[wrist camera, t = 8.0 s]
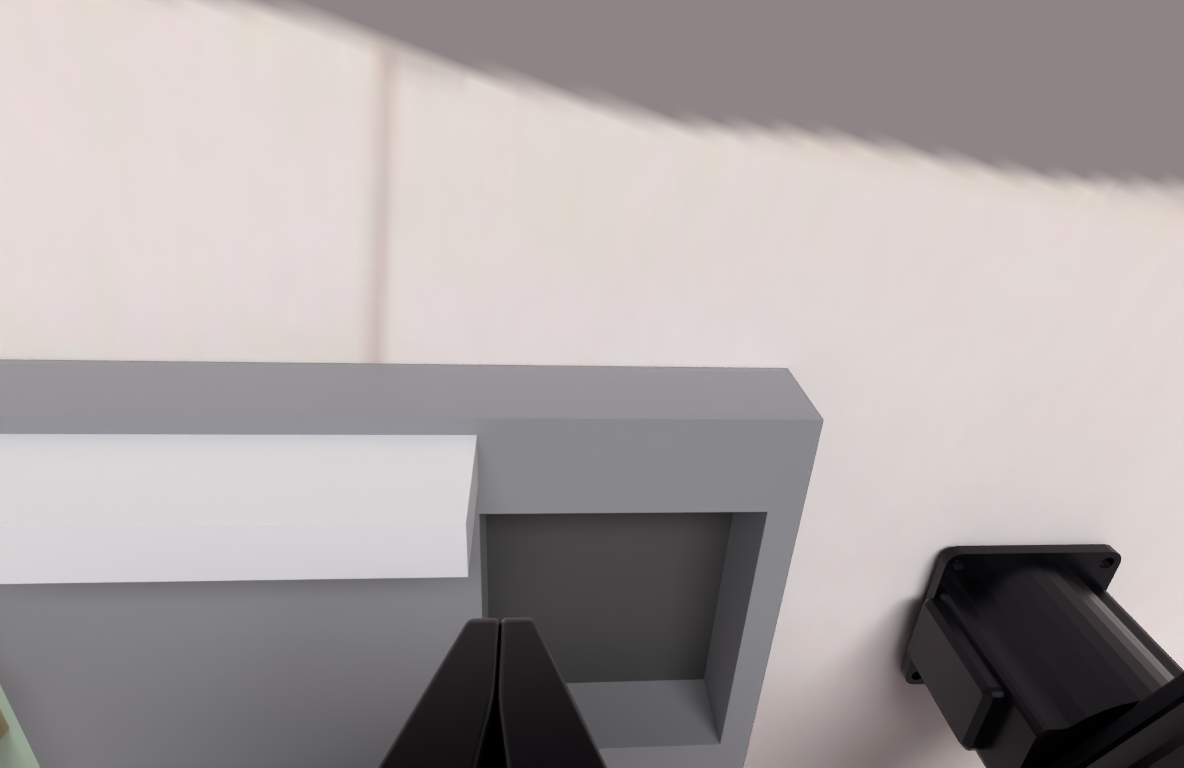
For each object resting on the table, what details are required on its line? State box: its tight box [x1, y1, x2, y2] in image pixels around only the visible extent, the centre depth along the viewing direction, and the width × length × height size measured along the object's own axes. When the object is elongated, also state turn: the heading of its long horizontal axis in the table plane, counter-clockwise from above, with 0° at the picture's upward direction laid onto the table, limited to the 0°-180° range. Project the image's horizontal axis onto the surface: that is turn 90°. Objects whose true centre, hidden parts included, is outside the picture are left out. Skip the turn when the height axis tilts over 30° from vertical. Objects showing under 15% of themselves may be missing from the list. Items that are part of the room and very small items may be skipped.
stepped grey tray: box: [0, 360, 823, 768], centre depth 21 cm, size 33×16×6 cm, turn 87°
